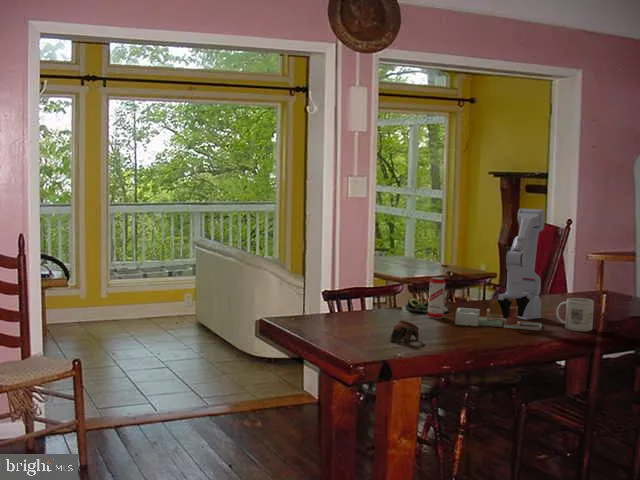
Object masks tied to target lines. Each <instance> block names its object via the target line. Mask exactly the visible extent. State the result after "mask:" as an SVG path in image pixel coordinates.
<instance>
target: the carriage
mask: <svg viewBox="0 0 640 480" xmlns="http://www.w3.org/2000/svg"><path fill="white" fill-rule="evenodd" d="M490 313H491V309H490V308H487V309H486V316H485V317H486V320H503V326H504V325H516V326H521V325H520V322H521V321H520V322H517V321H518V319H519V318H518V307H517V306H512V305H511V306H510V309H509V317H508V319H506V318H503V314H490Z"/></svg>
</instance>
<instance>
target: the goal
mask: <svg viewBox="0 0 640 480" xmlns="http://www.w3.org/2000/svg"><path fill="white" fill-rule="evenodd" d="M480 311H481V309H480V308H479V309H478V308H465V307H457V309H456V312H455V321H454V322H455V325H460V326H469V325H470V327H471V326H472V327H479V325H478V316H479V317H481V316H480V313H481V312H480ZM471 313H475V314H471Z"/></svg>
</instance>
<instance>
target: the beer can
mask: <svg viewBox="0 0 640 480" xmlns="http://www.w3.org/2000/svg"><path fill="white" fill-rule="evenodd" d="M428 289H429V290H428V302H429V305H428V314H427V316H428V317H429V318H430V319H435V320H441V319H443V317H444V315H445V313H444V305H445V302H446V300H445V299H446V297H445V296H446V280H445V278H444V277H442V276H441V277H440V276H432V277H431V279H430V281H429V288H428Z"/></svg>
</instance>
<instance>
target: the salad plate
mask: <svg viewBox="0 0 640 480" xmlns="http://www.w3.org/2000/svg"><path fill="white" fill-rule="evenodd" d="M428 305H429V301H426V302H425V303H422V302H420V300H419V299H417V298H414V297H411V298H409V299H408V301H407V303H406V304H405V310H407V311H408V312H410V313H413V314H418V315H420V314H422V315H428ZM451 307H452V305H445V304H444V314H445V313H447V312H448V311H449V309H448V308H451Z"/></svg>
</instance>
